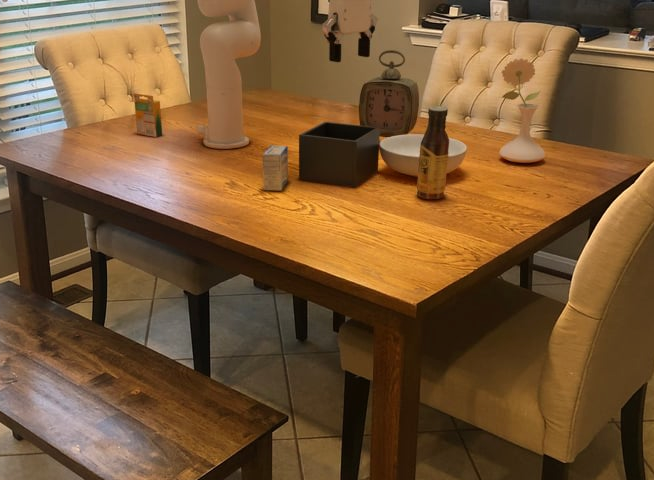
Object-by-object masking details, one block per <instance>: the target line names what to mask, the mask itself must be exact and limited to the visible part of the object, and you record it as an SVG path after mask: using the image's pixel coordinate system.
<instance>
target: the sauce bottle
mask: <svg viewBox="0 0 654 480" xmlns="http://www.w3.org/2000/svg"><path fill="white" fill-rule="evenodd" d="M448 111H449V109H448V108H447V107H446V106H441V105H434V106H430V107H428V112H427V115H428V120H427V127H426V129H425V132H424V133H423V134H424V137H423V139H422V141H421V145H420V155H419V167H418V177H417V182H416V190H417V192H416V195H417V196H418V197H419V198H421V199H422V200H431V201H432V200H440V199H442V198H444V196H445V195H444V194H445V191H446V183H447V174H448V173H447V164H448V154H449V152H448V149H449V138H450V137H449V135H448V133H447V131H446V128H447V126H446V124H447V117H448V114H449V113H448Z"/></svg>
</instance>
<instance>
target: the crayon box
mask: <svg viewBox="0 0 654 480" xmlns="http://www.w3.org/2000/svg"><path fill="white" fill-rule="evenodd" d="M140 97H142V98H140ZM143 97H144V98H143ZM133 99H134V101H133V102H134V111H135V113H134V114H135V124H136V134H137V135H143V136H147V137H154V138H157V137H161V136H163V125H162V113H161V112H162V111H161V101H160V100H154V96H153V95H151V94H150V95H148V94H142V93H133Z"/></svg>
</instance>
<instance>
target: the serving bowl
mask: <svg viewBox="0 0 654 480" xmlns="http://www.w3.org/2000/svg"><path fill="white" fill-rule="evenodd" d="M424 134H425V133H423V134H422V133H408V134H407V135H398V136H392V137H385V138H383V139H381V141H379V154H380V156H381V159H382V160H383V162H384V164H385V165H386V166H387V167H388V168H390V169H391V170H393V171H395V172H397V173H400V174H402V175H407V176H410V177H414V178H418V167H419V155H420V145H421V141H422V139H423V137H424ZM448 138H449V149H448V152H449V154H448V164H447V174H449V173H452V172H453V171H455V170H456V169H458V167H460V166H461V164H462V163H463V162H464V160H465V157H466V154H467V151H468V147H467V145H466V143H464V142H462V141H460V140H458V139H456V138H453V137H448Z"/></svg>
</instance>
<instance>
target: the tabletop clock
mask: <svg viewBox="0 0 654 480" xmlns="http://www.w3.org/2000/svg"><path fill="white" fill-rule="evenodd" d="M386 54H396V55H398V56H400V57H402V62H401V63H398V64H395V62H394V61H393V60H391V61H390V62H389V63H385V62H383V61H382V59H381V58H382V57H383V55H386ZM378 61H379V63H380V64H381V65H382V66H383V67H387V68H385V69H384V70H383V71H382V73H381V75H380V76H377V77H374V78H372V79H370V80H368V81H367V82H365V83H363V84H362V87H361V89H360V95H359V104H358V121H359V125H360V126H369V127H379V128H380V137H381V138H389V137H392V136H398V135H408V134H410V132H412V131H413V130H414V129H415V126H416V125H417V121H418V115H419V108H420V92H419V91H420V90H419V86H418V84H417V81H415V80H413V79H410V78H406V77H402V74H401V73H400V70H398V69H397V68H398V67H402V65H404V64H405V62H406V57H405V55H404V54H403V53H402V52H401V51H399V50H395V49H394V50H393V49H389V50H384V51H382V52H381V53H380V54H379V56H378Z"/></svg>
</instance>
